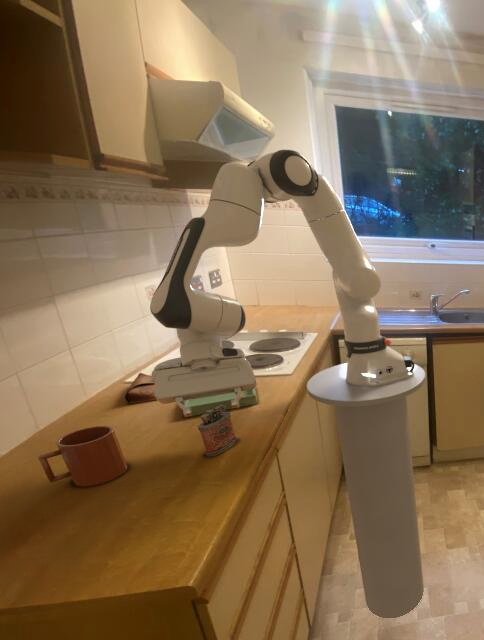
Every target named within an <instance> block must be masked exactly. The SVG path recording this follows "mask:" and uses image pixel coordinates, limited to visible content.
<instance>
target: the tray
mask: <svg viewBox="0 0 484 640" xmlns="http://www.w3.org/2000/svg"><path fill="white" fill-rule="evenodd" d="M235 397H236V394H235V392H233V393H227V394H221V395H215V396H209V397H203V398H197V399H191V400H185V404H184V406H185V407H191V409H192V414H193V416H192V417H194V416H201V415H204V414H205V413H206V411H207V410H213V409H214V408H216V407H217V406H219V405H224V406H225V409H226V410H230V409H232V410H233V408H232V405H231V404H232V403H231V400H232V399H235ZM257 398H258V397H257V391H256V388H255V389H251V390H245V391H242V397H241V398H240V400H239V406H240V407H239V408H242V407H247V406H254V405H257V404H258V399H257ZM226 410H225V411H226ZM189 417H191V416H189Z"/></svg>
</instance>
